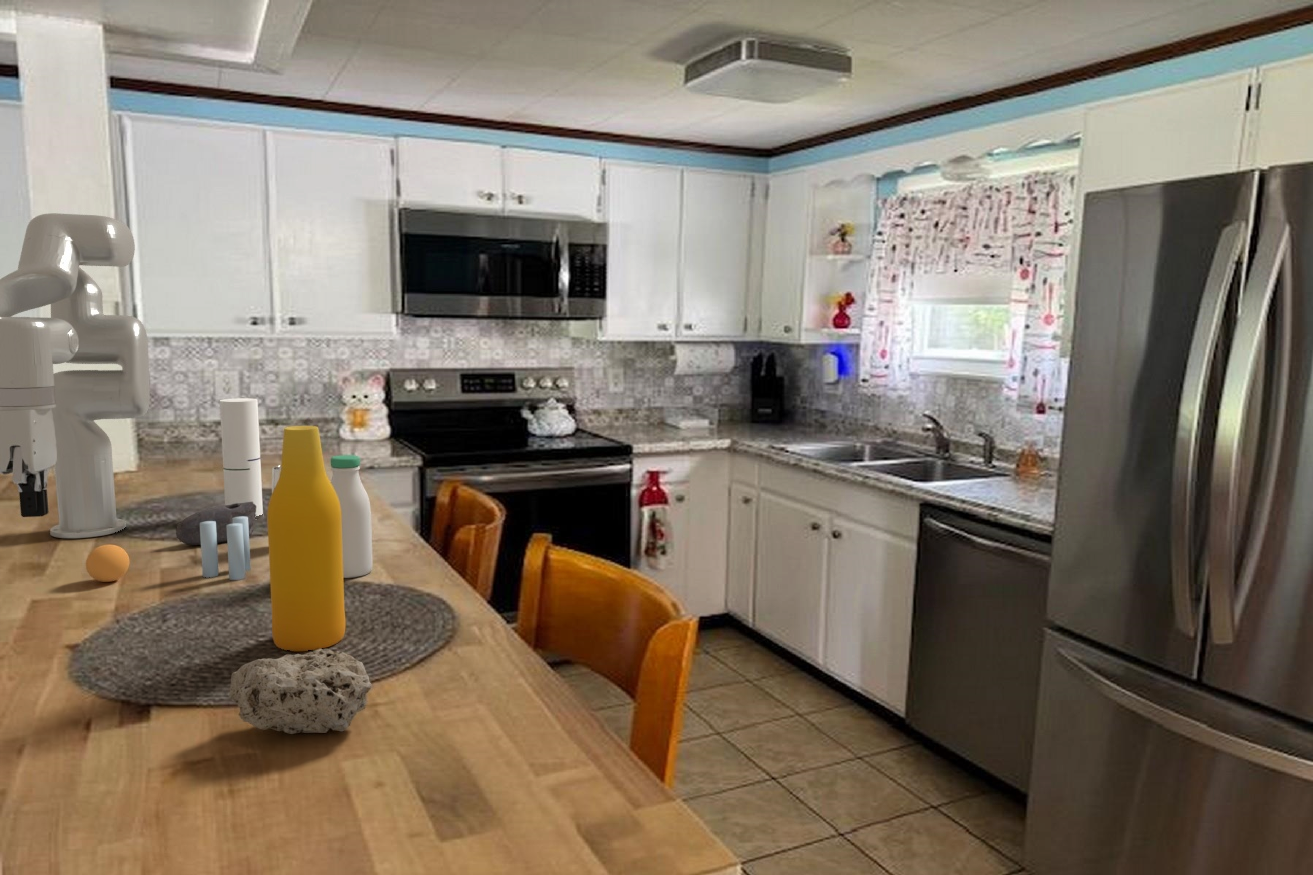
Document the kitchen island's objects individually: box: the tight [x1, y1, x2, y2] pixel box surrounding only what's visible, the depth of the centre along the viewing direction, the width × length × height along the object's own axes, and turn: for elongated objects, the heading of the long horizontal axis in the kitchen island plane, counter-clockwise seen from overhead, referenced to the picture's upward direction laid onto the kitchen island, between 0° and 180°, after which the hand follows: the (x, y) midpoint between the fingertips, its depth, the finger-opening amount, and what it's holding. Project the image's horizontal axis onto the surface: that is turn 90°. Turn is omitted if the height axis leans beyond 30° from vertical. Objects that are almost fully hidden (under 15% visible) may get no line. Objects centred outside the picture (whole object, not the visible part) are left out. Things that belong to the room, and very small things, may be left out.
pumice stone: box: [228, 648, 373, 735], centre depth 95 cm, size 14×12×8 cm
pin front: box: [200, 521, 220, 578], centre depth 146 cm, size 2×2×9 cm
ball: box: [85, 544, 131, 583], centre depth 143 cm, size 6×6×6 cm
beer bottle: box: [266, 425, 347, 652], centre depth 118 cm, size 9×9×29 cm
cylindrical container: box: [219, 397, 264, 517], centre depth 186 cm, size 7×7×25 cm
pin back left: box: [226, 523, 246, 581], centre depth 145 cm, size 2×2×9 cm
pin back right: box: [232, 516, 252, 572], centre depth 150 cm, size 2×2×9 cm
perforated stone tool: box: [175, 502, 256, 546], centre depth 168 cm, size 15×5×7 cm, turn 133°
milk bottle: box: [330, 454, 374, 579], centre depth 149 cm, size 8×8×20 cm
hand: (35, 515), depth 138 cm, fingers closed
